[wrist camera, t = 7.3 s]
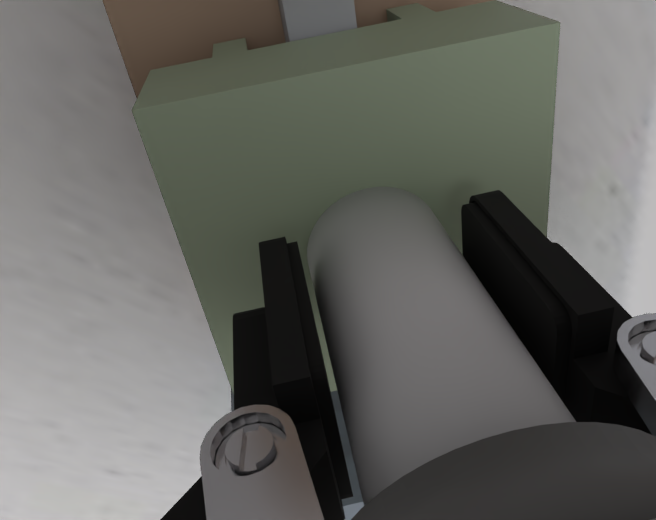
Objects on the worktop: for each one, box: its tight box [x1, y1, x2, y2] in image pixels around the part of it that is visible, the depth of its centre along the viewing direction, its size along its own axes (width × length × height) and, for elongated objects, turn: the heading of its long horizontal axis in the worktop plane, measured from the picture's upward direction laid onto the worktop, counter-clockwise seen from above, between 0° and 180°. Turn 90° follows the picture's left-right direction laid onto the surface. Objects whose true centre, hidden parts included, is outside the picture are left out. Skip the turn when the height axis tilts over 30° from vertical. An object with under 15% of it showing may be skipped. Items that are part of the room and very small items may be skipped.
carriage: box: [132, 0, 656, 520], centre depth 11 cm, size 8×8×13 cm
